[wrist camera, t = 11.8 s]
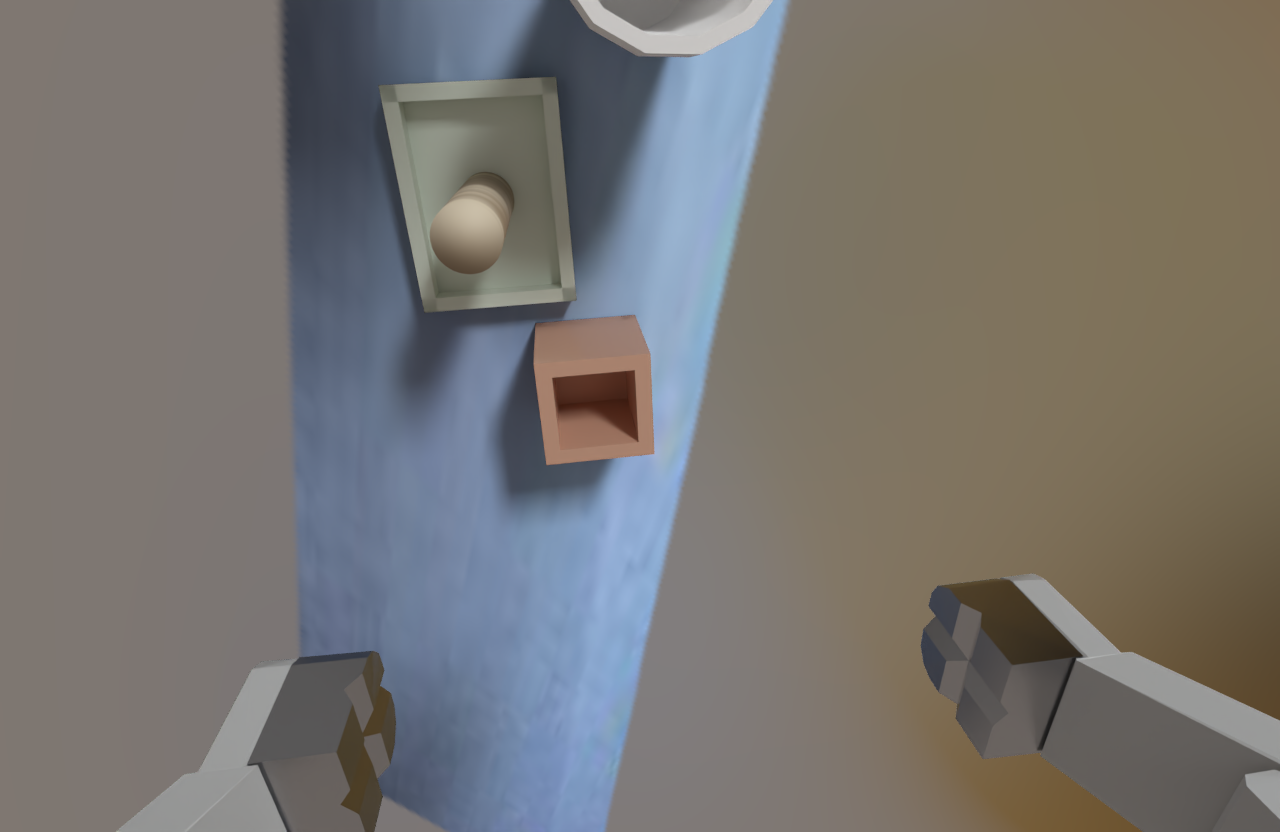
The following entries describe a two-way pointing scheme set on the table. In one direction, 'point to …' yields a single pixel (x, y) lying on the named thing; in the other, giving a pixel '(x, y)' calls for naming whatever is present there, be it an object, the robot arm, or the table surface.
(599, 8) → the foam cup
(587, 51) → the table surface
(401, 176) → the tray
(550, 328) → the brown hollow block
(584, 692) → the table surface
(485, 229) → the dowel
